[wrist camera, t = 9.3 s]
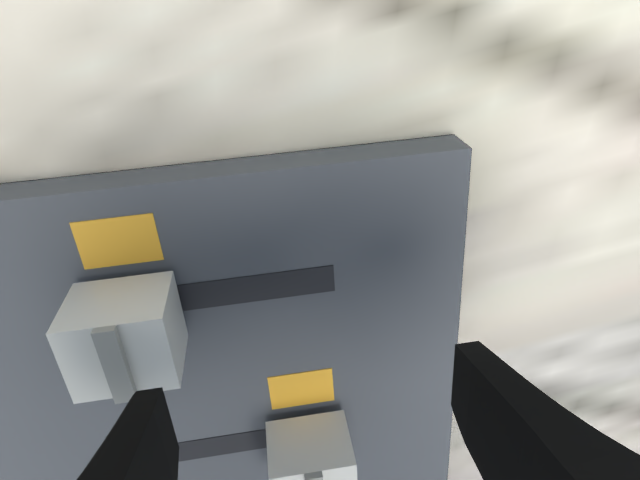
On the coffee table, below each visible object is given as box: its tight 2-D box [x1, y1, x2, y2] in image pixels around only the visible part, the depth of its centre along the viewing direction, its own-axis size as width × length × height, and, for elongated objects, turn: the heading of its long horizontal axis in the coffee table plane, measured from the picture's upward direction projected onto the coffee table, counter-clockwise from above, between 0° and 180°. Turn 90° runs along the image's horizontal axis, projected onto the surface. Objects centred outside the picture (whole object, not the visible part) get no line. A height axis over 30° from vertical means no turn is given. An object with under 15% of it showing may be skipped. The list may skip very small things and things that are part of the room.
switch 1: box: [46, 271, 188, 404], centre depth 15 cm, size 2×3×3 cm
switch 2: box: [265, 410, 357, 480], centre depth 19 cm, size 2×3×3 cm
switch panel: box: [0, 135, 472, 480], centre depth 21 cm, size 22×18×2 cm
